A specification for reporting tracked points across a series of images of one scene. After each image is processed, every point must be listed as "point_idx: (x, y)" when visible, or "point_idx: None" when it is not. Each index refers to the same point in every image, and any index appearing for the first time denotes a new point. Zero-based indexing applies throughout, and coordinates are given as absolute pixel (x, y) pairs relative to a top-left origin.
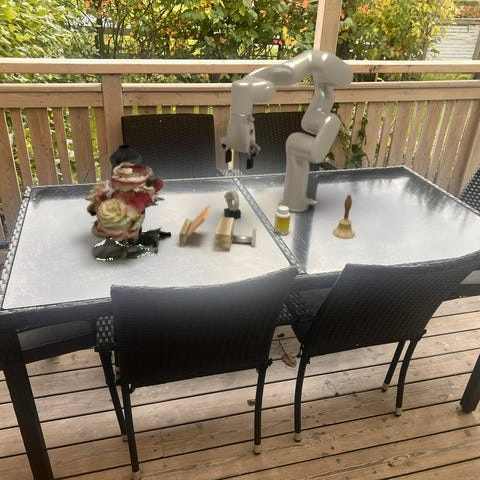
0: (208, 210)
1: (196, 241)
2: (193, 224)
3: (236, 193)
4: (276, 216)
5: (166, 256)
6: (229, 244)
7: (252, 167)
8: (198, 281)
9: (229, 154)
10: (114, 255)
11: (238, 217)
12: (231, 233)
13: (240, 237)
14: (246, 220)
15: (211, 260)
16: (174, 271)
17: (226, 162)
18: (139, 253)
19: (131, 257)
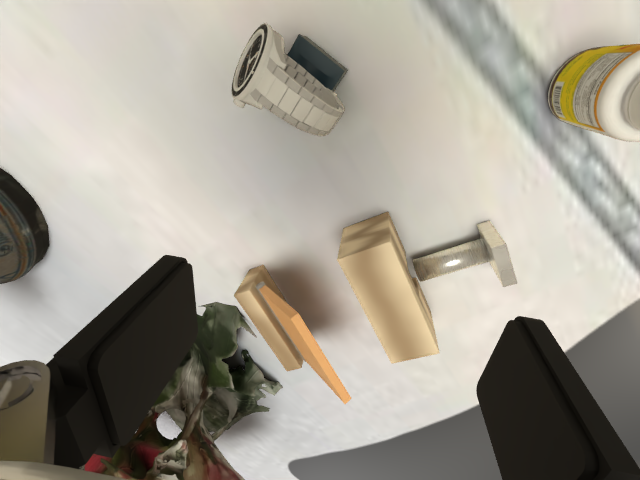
0: (315, 343)
1: (316, 306)
2: (290, 334)
3: (305, 97)
4: (605, 133)
5: (303, 383)
6: (433, 326)
7: (537, 320)
8: (423, 426)
9: (134, 380)
10: (219, 415)
11: (340, 80)
12: (416, 290)
13: (447, 273)
14: (382, 74)
15: (407, 361)
16: (357, 416)
17: (190, 337)
18: (250, 397)
19: (250, 410)
